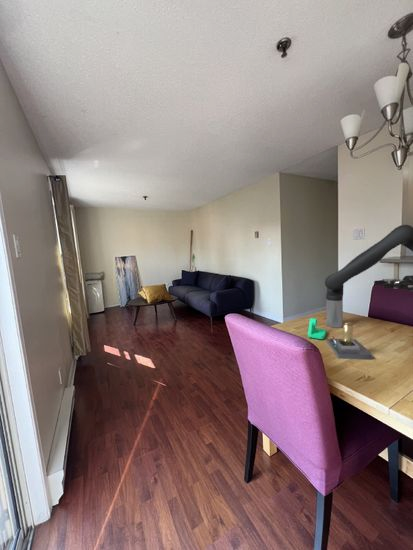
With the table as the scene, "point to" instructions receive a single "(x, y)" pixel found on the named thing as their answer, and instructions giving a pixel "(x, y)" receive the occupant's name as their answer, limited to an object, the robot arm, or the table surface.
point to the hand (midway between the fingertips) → (378, 284)
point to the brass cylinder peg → (347, 333)
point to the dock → (348, 349)
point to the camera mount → (315, 330)
